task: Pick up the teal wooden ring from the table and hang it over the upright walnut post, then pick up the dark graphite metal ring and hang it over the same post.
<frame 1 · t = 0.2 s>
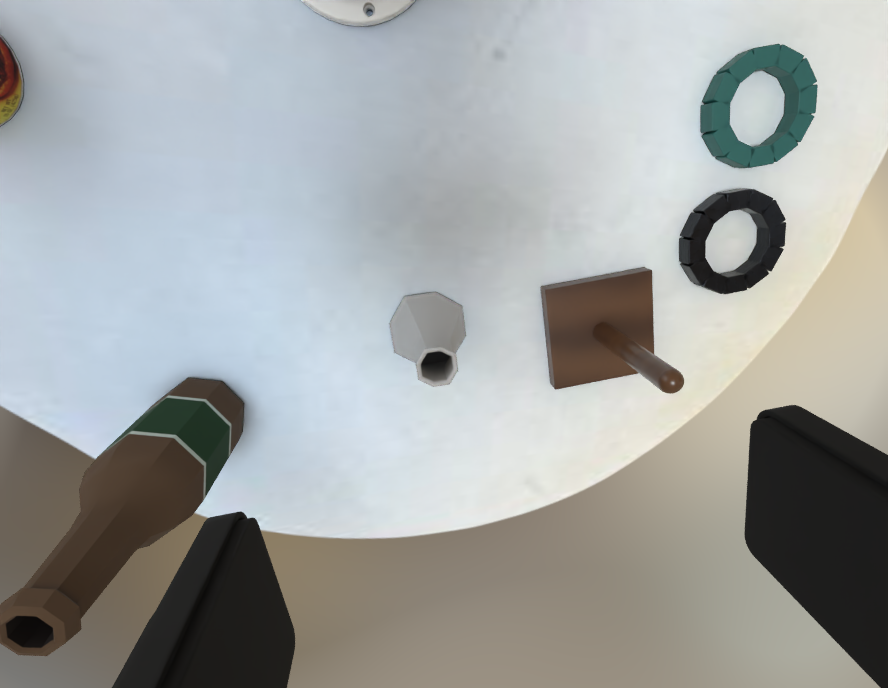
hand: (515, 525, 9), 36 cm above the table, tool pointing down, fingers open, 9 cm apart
beer bottle: (206, 411, 46), on the table
teal ring: (751, 110, 43), on the table
graphite ring: (726, 241, 46), on the table
stand: (595, 327, 48), on the table
flask: (427, 328, 46), on the table
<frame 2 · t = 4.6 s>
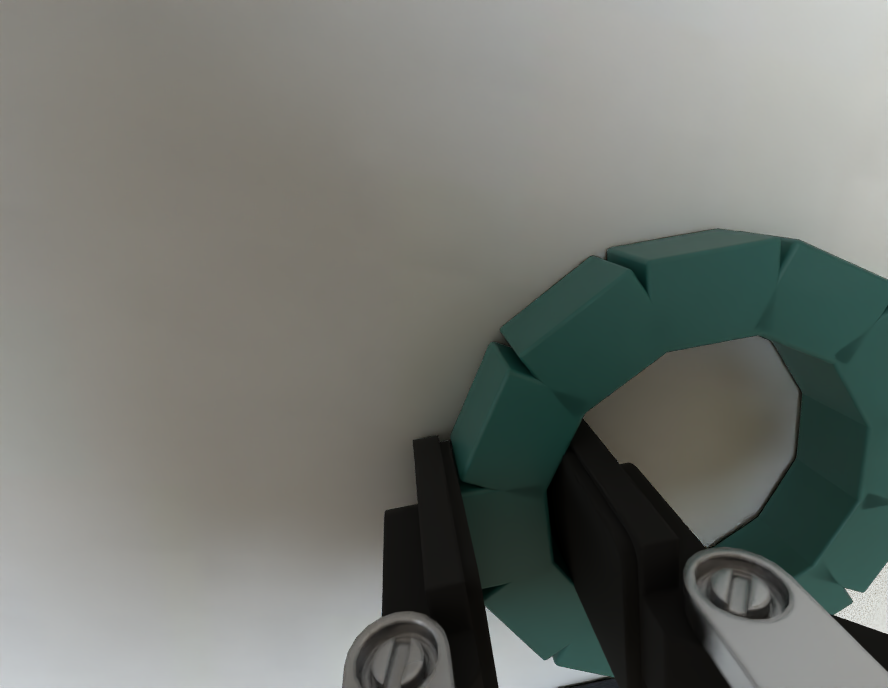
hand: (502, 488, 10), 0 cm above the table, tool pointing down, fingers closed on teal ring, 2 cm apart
teal ring: (664, 451, 11), on the table, touching gripper
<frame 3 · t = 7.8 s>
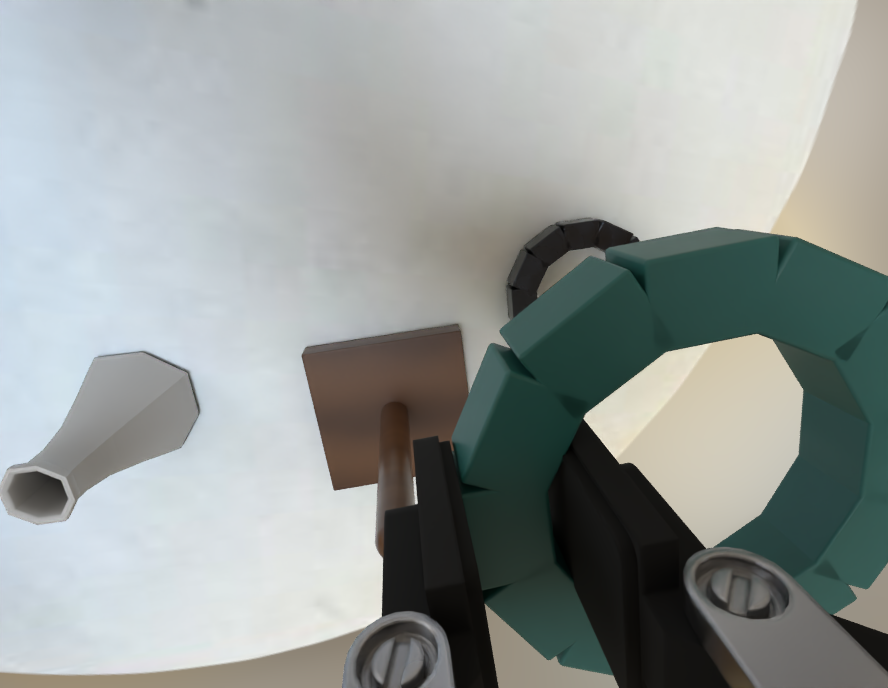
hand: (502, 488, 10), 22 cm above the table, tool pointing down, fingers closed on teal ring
teal ring: (666, 450, 11), point 22 cm above the table, touching gripper
graphite ring: (575, 291, 32), on the table
stand: (394, 404, 34), on the table
flask: (143, 401, 32), on the table
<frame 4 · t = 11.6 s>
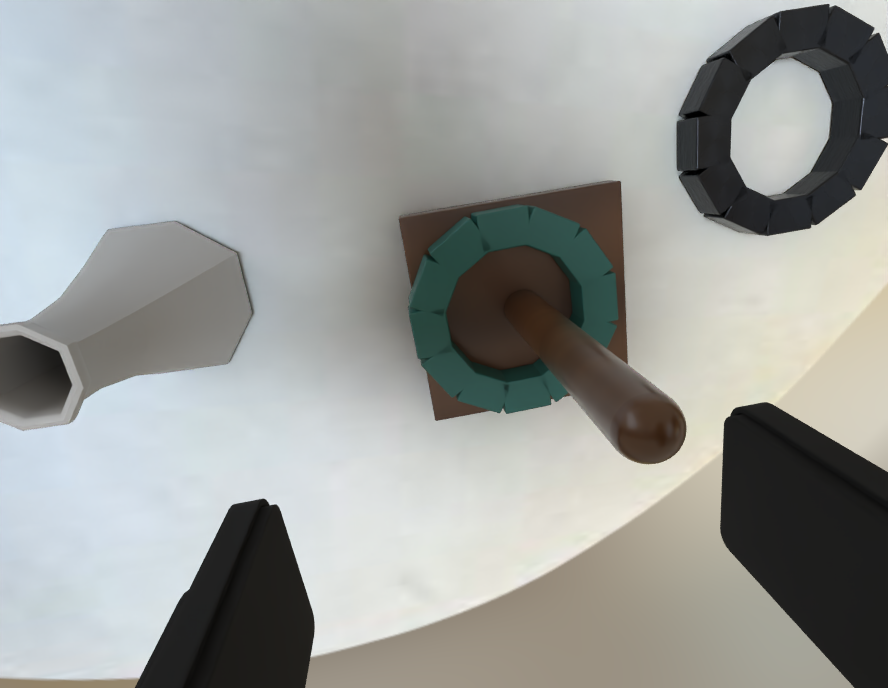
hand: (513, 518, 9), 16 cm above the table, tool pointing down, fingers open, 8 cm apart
teal ring: (508, 308, 23), point 1 cm above the table, touching stand
graphite ring: (770, 130, 23), on the table
stand: (515, 301, 25), on the table
flask: (175, 297, 23), on the table
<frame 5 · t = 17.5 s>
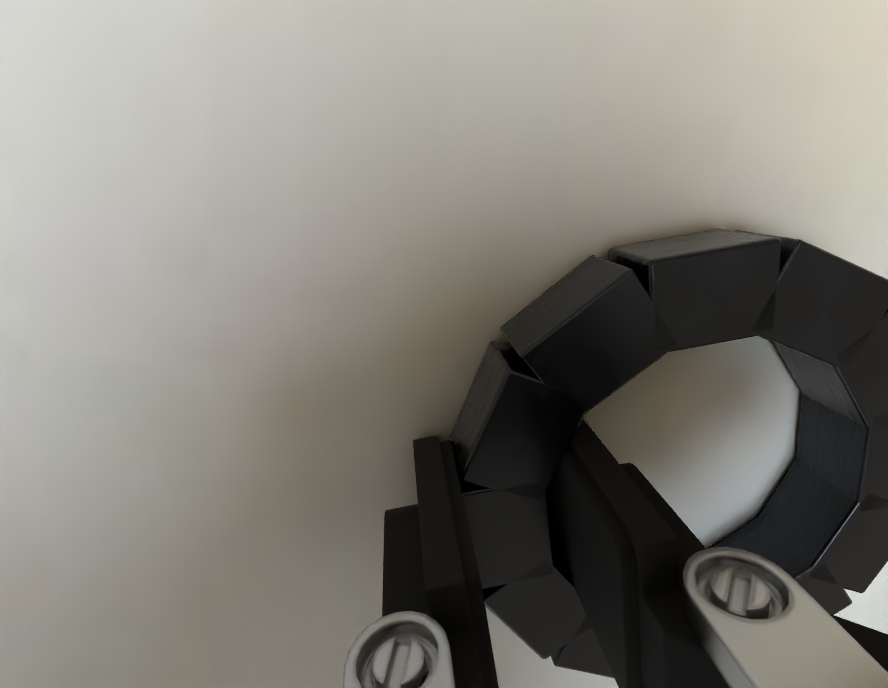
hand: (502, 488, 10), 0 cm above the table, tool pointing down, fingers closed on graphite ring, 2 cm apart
graphite ring: (664, 451, 11), on the table, touching gripper
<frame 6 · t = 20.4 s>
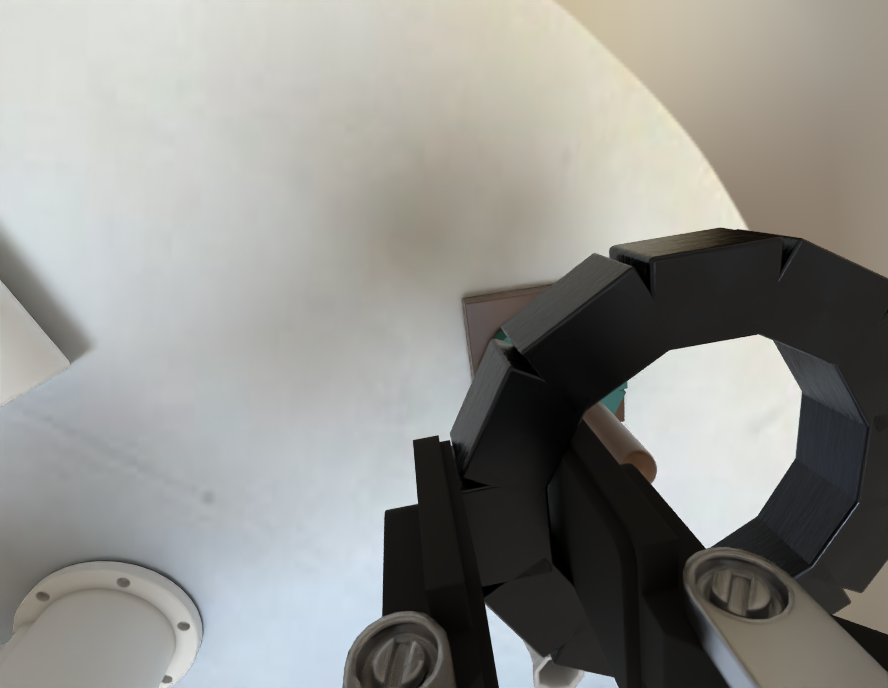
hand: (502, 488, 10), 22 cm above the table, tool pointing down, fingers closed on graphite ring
teal ring: (548, 376, 32), point 1 cm above the table, touching stand
graphite ring: (664, 450, 11), point 22 cm above the table, touching gripper
stand: (543, 358, 33), on the table
flask: (518, 551, 39), on the table
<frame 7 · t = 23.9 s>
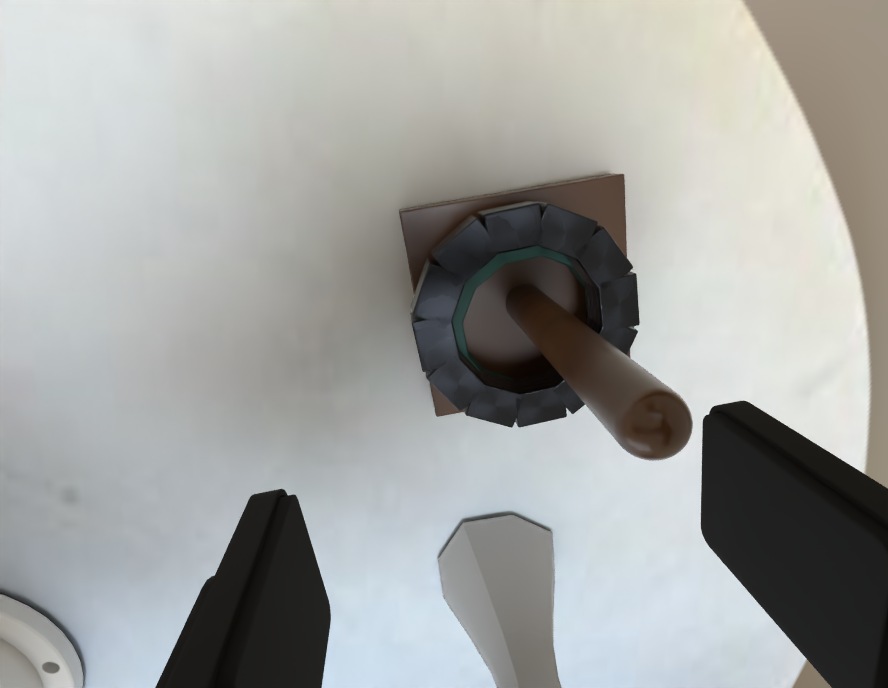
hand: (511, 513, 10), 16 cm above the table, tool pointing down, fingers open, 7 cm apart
teal ring: (523, 317, 23), point 1 cm above the table, touching graphite ring, stand
graphite ring: (519, 313, 21), point 3 cm above the table, touching teal ring
stand: (517, 295, 24), on the table
flask: (495, 559, 30), on the table
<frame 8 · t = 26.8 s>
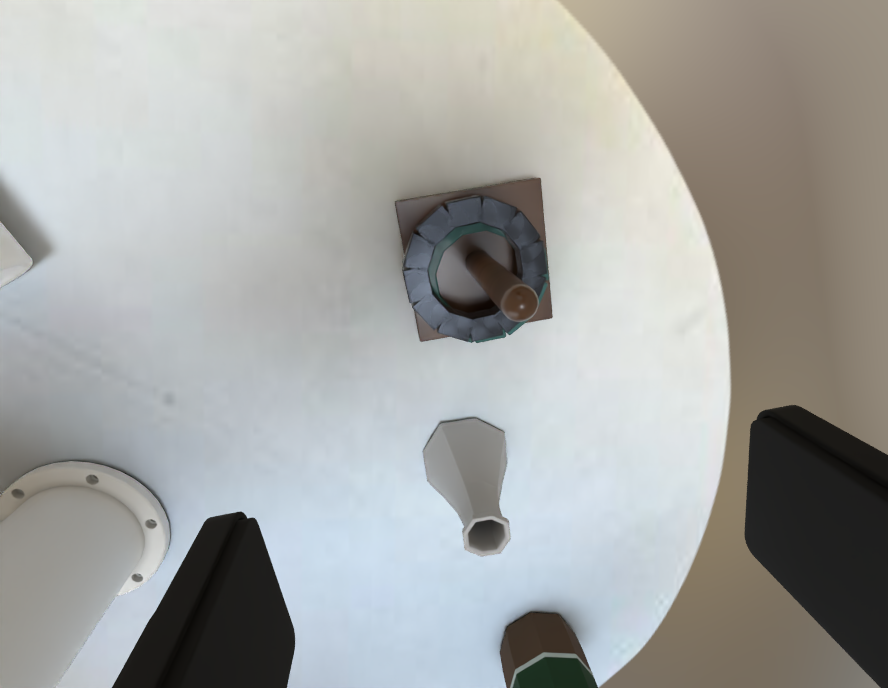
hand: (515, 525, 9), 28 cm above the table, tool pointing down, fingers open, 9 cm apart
beer bottle: (535, 637, 49), on the table
teal ring: (477, 273, 35), point 1 cm above the table, touching graphite ring, stand
graphite ring: (472, 268, 33), point 3 cm above the table, touching teal ring
stand: (474, 260, 36), on the table
flask: (464, 454, 41), on the table
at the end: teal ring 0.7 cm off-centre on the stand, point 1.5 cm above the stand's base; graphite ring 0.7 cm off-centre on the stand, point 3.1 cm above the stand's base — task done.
